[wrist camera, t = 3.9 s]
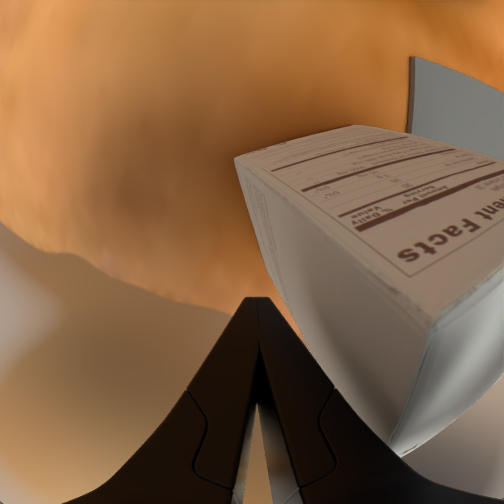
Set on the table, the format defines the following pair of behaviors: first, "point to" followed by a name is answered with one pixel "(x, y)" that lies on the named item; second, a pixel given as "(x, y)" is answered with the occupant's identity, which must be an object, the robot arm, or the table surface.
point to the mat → (455, 109)
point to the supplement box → (387, 268)
